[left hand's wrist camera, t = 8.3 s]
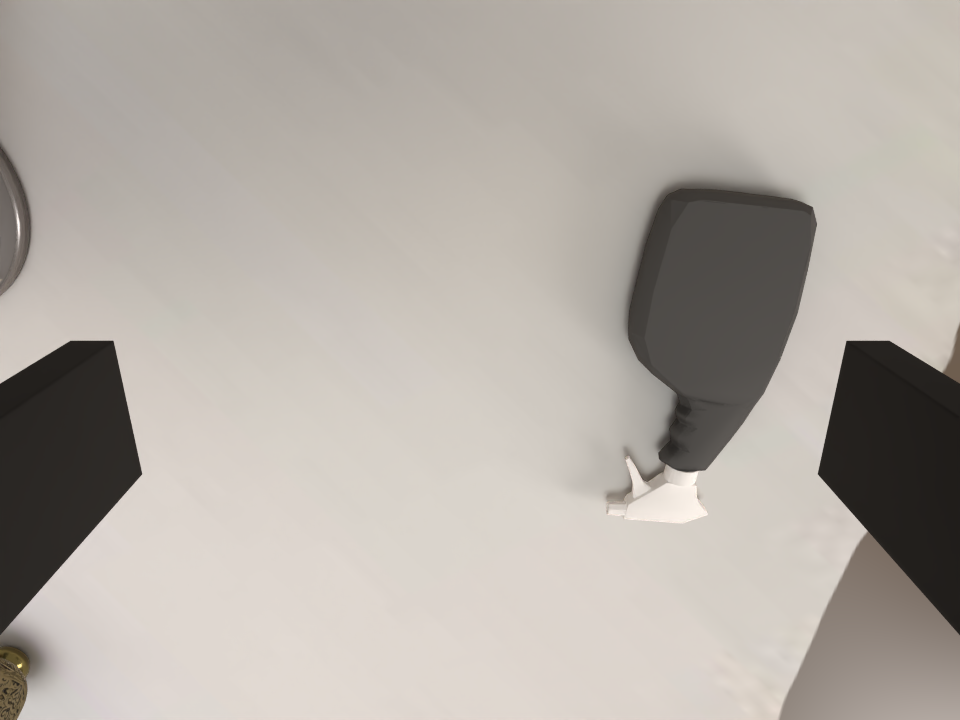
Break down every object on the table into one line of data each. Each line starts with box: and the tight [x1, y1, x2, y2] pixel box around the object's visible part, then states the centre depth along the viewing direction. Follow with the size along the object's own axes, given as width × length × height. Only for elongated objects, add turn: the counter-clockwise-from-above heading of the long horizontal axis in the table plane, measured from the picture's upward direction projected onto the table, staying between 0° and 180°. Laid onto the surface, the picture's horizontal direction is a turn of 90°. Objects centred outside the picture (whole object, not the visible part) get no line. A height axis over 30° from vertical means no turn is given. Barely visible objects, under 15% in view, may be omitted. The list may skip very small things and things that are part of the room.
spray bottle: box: [606, 189, 817, 523], centre depth 47 cm, size 3×11×24 cm
